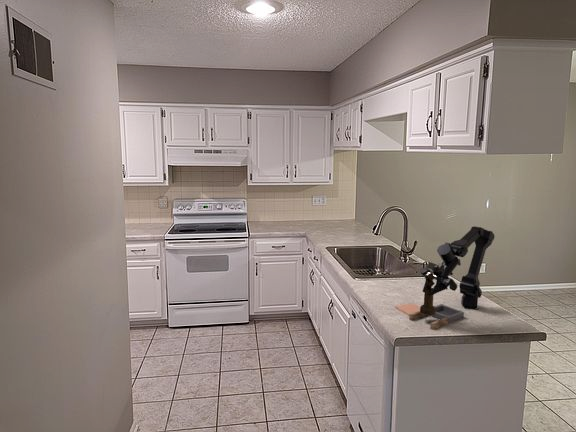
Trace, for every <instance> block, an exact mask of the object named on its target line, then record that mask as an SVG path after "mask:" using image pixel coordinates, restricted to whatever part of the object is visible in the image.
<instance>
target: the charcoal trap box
mask: <svg viewBox="0 0 576 432" xmlns="http://www.w3.org/2000/svg"><path fill="white" fill-rule="evenodd" d="M433 306H434V307H435V308H436V313H435V314H434V315H428V316H429V317H431V316H432V317H431V318H434V319H436V318H437V320H439V319H443V318H448V324H450V323H452V322H451V321H453V322H455V321H457V320H456V319H458V320H460V319H459V318H461V319H463V318H464V317H465V312H464V311H462V310H459V309H456V308H454V307H451V306H449V305H445V304H443V303H439V304H438V305H433ZM462 317H463V318H462ZM454 320H455V321H454ZM449 322H450V323H449Z"/></svg>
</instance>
